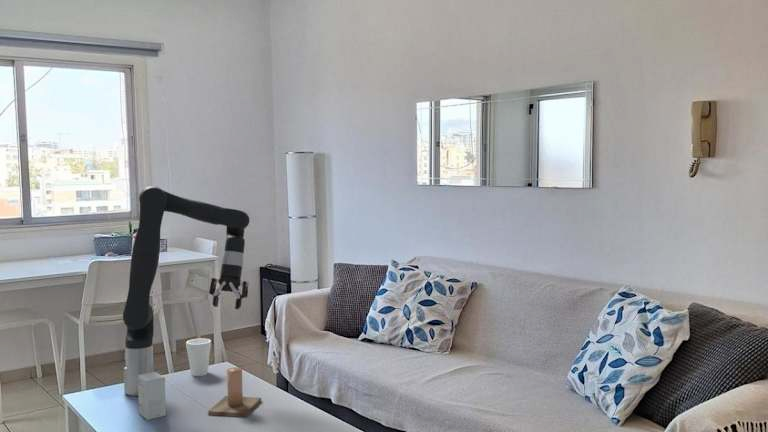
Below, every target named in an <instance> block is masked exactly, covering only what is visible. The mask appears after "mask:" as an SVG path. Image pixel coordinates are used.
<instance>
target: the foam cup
mask: <svg viewBox="0 0 768 432" xmlns="http://www.w3.org/2000/svg"><path fill="white" fill-rule="evenodd" d="M185 345H186V346H185V349H186V351H187V357H188V358H187V359H188V364H189V369H190V370H189V371H190V375H191V376H193V377H202V376H206V375H207V374H208V371H209V364H210V356H211V355H210V354H211V348H212V340H211V339H209V338H203V337H202V338H192V339H189V340H187V341H186V342H185Z"/></svg>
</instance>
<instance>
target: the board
mask: <svg viewBox="0 0 768 432" xmlns="http://www.w3.org/2000/svg"><path fill="white" fill-rule="evenodd" d="M261 401H262V397H257V396H256V397H255V396H253V397H252V396H243V404H242V405H241V406H237V407H231V406H228V395H225V396H224V397H223V398H221V399H220V400H219V401H218V402H217V403H216V404H215V405H214V406H213V407H211V408H210V409H209V410H208V412H207V413H208V416H210V415H211V416H227V417H241V418H242V417H244V418H247V416H249V414H250V413H251V412H252V411H253V410H254V409H255V408H256V407H257V406H258V405H259V404H260V403H261Z"/></svg>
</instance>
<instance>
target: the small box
mask: <svg viewBox="0 0 768 432" xmlns="http://www.w3.org/2000/svg"><path fill="white" fill-rule="evenodd" d="M165 378H166V377H165V376H163V375H162V374H160V373H159V372H157V371H153V373H147V374H142V375H138V396H137V398H138V414H139V415H140V416H142V417H143V418H144V419H145V420H152V419H154V420H155V419H156V418H162V417H165V416H166V415H167V413H166V412H167V411H166V410H167V409H166V405H167V404H166V379H165Z"/></svg>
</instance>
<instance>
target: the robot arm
mask: <svg viewBox="0 0 768 432" xmlns="http://www.w3.org/2000/svg"><path fill="white" fill-rule="evenodd" d="M138 201H139V222H138V228H137V232H136V234H135V235H136V236H135V237H134V238H135V239H134V241H133V244H132V245H133V246H132V250H131V252H132V253H131V260H130V269H129V281H128V293H127V297H126V302H125V305H124V309H123V312H122V313H123V314H122V321H123V323H124V325H125V326H126V336H125V367H123V381H124V382H123V386H124V387H123V388H124V389H123V390H124V394H125V395H128V396H131V397H138V375H142V374H147V373H153V372H154V347H153V346H154V345H153V338H154V329H155V327H154V326H155V325H154V309H153V307H152V305H151V304H150V296H151V290H152V286H153V284H154V281H155V278H156V274H157V270H158V266H159V260H160V252H161V251H160V250H161V249H160V248H161V227H162V222H163V217H164V214H165V212H167V213H168V212H169V213H173V214H177V215H181V216H185V217H187V218H190V219H193V220H195V221H199V222H203V223H207V224H211V225H216V226H217V225H221V226H225V227H226V231H225V232H226V233H225V234H226V238H225V239H226V240H225V245H224V251H223V255H222V261H221V269H220V274H219V275H220V276H219V279H218V278H216V277H215V278H214V277H213V278H211V280H210V285H209V290H208V294H209V295H212V296H213V298H212V305H213V307H214V308H218V306H219V301H220V295H221V294H223V292H230V293H232V292H233V293H234V295H235V296H236V299H235V307H234V309H235V310H240V308H241V306H242V302H243V301H242V300H243V299H247V298H248V294H249V293H248V292H249V281H247V280H246V281H245V280H244V281H242V280H241V279H242V271H243V265H244V254H245V253H244V252H245V244H246V243H245V238H244V236H245V235H244V234H245V229H246V228H247V227H248V226H249V224H250V217H249V215H248V213H247V212H245V211H243V210H240V209H235V208H229V207H228V208H227V207H223V206H219V205H216V204H211V203H207V202H204V201H200V200H194V199H189V198H186V197H185V198H184V197H181V196H178V195H176V194H173V193H170V192H168V191H165V190H164V189H162V188H160V187H159V186H155V185H152V186H151V185H150V186H146V187H145V188H143V189H142V190H141V191H140V193H139V196H138ZM218 284H219V286H218V287H217V285H218ZM240 286H241V288H242V289H241V290H240V288H239V287H240Z"/></svg>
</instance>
